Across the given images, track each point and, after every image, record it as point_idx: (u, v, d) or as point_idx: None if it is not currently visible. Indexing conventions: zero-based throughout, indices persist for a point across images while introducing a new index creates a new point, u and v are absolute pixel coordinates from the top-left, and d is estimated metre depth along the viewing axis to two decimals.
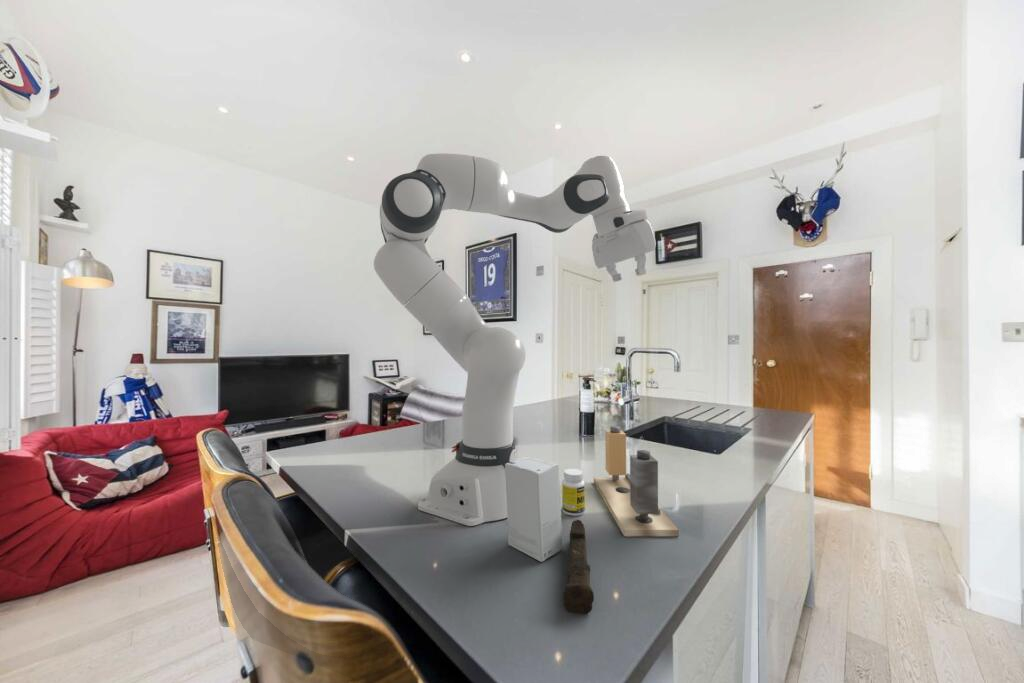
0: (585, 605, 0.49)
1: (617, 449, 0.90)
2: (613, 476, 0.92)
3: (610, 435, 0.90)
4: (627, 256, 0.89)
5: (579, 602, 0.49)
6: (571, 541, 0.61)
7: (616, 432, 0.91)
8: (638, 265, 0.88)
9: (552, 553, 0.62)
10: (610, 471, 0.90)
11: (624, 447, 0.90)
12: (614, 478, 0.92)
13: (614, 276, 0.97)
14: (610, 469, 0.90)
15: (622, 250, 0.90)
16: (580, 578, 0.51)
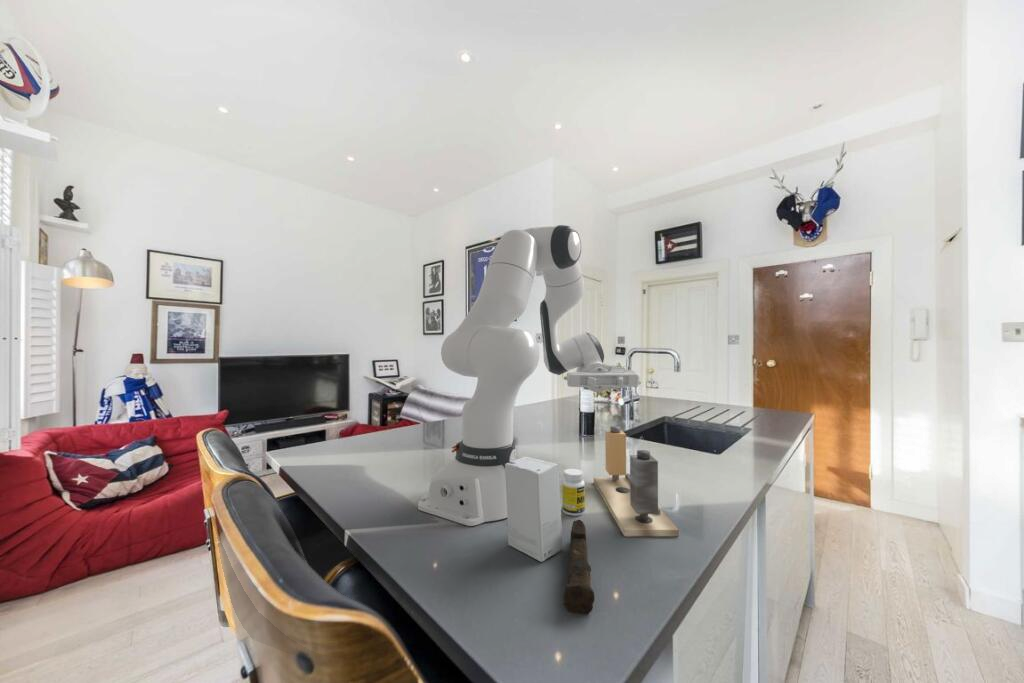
0: (585, 605, 0.49)
1: (617, 449, 0.90)
2: (613, 476, 0.92)
3: (610, 435, 0.90)
4: (617, 373, 1.03)
5: (580, 602, 0.49)
6: (572, 541, 0.61)
7: (616, 432, 0.91)
8: (620, 377, 1.01)
9: (552, 553, 0.62)
10: (610, 471, 0.90)
11: (624, 447, 0.90)
12: (614, 478, 0.92)
13: None
14: (610, 469, 0.90)
15: (612, 373, 1.05)
16: (581, 578, 0.51)
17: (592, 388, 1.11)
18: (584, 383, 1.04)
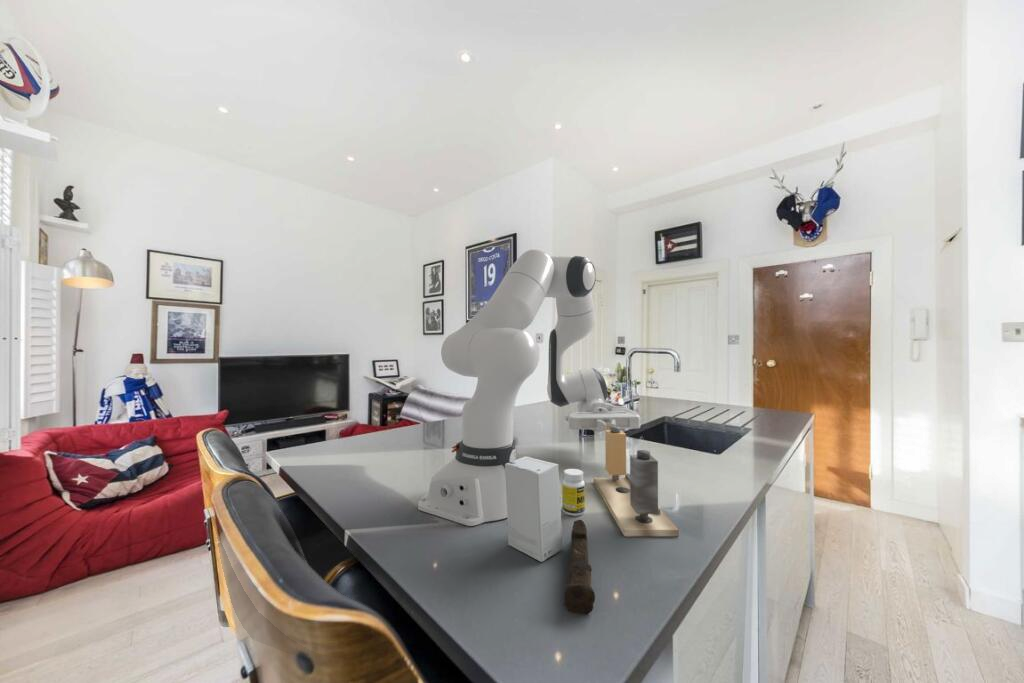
0: (586, 605, 0.49)
1: (617, 449, 0.90)
2: (613, 476, 0.92)
3: (610, 435, 0.90)
4: (618, 416, 1.04)
5: (580, 602, 0.49)
6: (573, 541, 0.61)
7: (616, 432, 0.91)
8: (613, 421, 1.01)
9: (552, 553, 0.62)
10: (610, 471, 0.90)
11: (624, 447, 0.90)
12: (614, 478, 0.92)
13: (607, 422, 1.00)
14: (610, 469, 0.90)
15: (613, 414, 1.06)
16: (582, 578, 0.51)
17: None
18: (585, 425, 1.04)
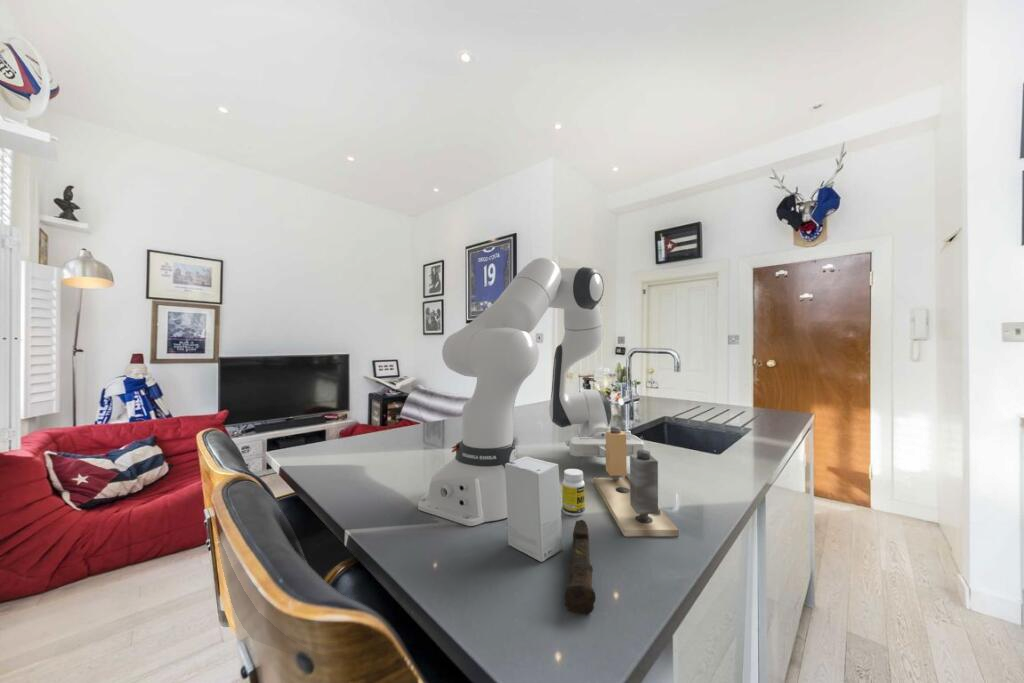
0: (586, 605, 0.49)
1: (617, 449, 0.90)
2: (613, 476, 0.92)
3: (610, 435, 0.90)
4: None
5: (581, 602, 0.49)
6: (574, 541, 0.61)
7: (616, 432, 0.91)
8: None
9: (552, 553, 0.62)
10: (610, 471, 0.90)
11: (624, 447, 0.90)
12: (614, 478, 0.91)
13: None
14: (610, 469, 0.90)
15: None
16: (582, 578, 0.51)
17: None
18: (587, 452, 0.99)
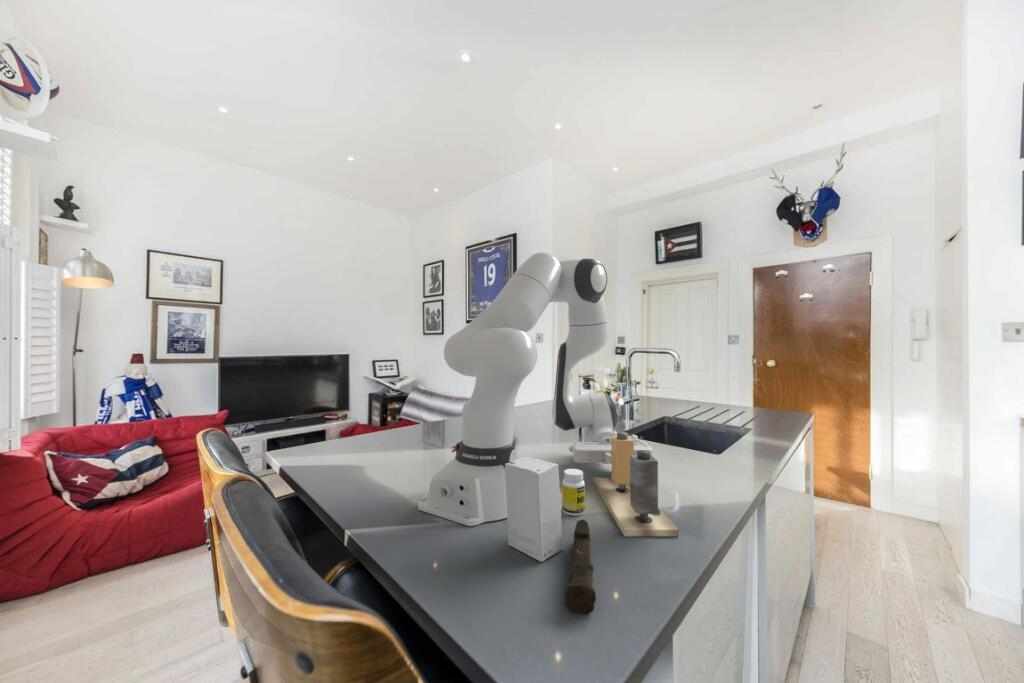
0: (587, 605, 0.49)
1: (624, 456, 0.84)
2: (620, 485, 0.86)
3: (617, 442, 0.84)
4: None
5: (581, 601, 0.49)
6: (575, 541, 0.61)
7: (623, 438, 0.85)
8: None
9: (552, 553, 0.62)
10: (617, 480, 0.84)
11: (632, 454, 0.84)
12: (621, 487, 0.86)
13: None
14: (617, 478, 0.84)
15: None
16: (583, 578, 0.51)
17: None
18: (592, 459, 0.94)
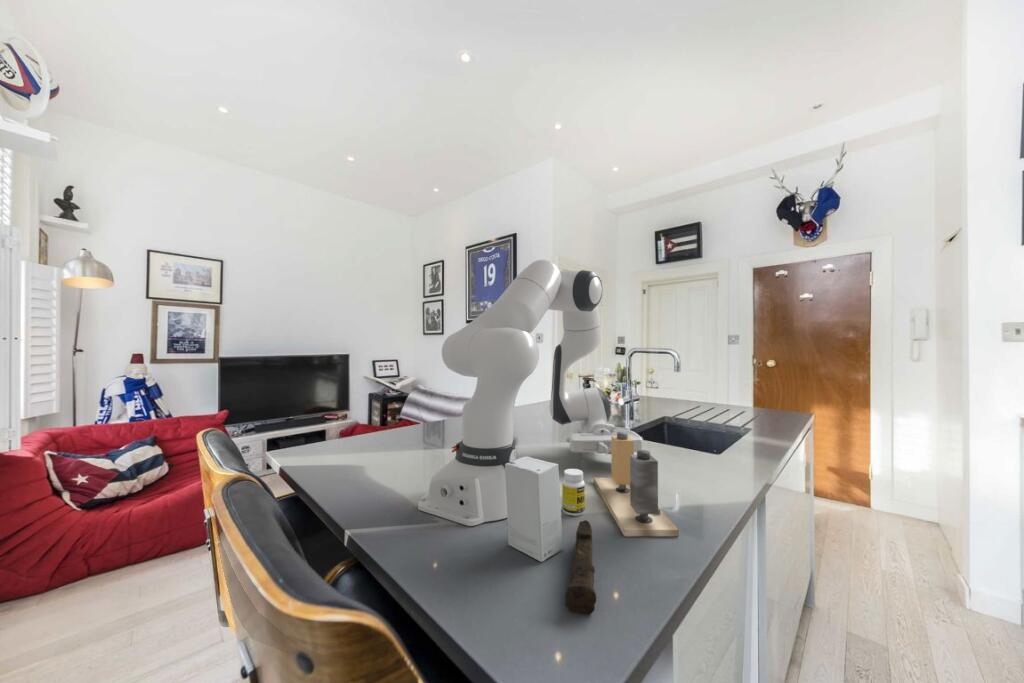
0: (587, 606, 0.49)
1: (624, 456, 0.84)
2: (620, 485, 0.86)
3: (617, 442, 0.84)
4: None
5: (581, 602, 0.49)
6: (577, 541, 0.61)
7: (623, 438, 0.85)
8: None
9: (552, 553, 0.62)
10: (617, 480, 0.84)
11: (632, 454, 0.84)
12: (621, 487, 0.86)
13: (609, 446, 0.98)
14: (617, 478, 0.84)
15: None
16: (584, 579, 0.51)
17: None
18: (587, 448, 1.02)
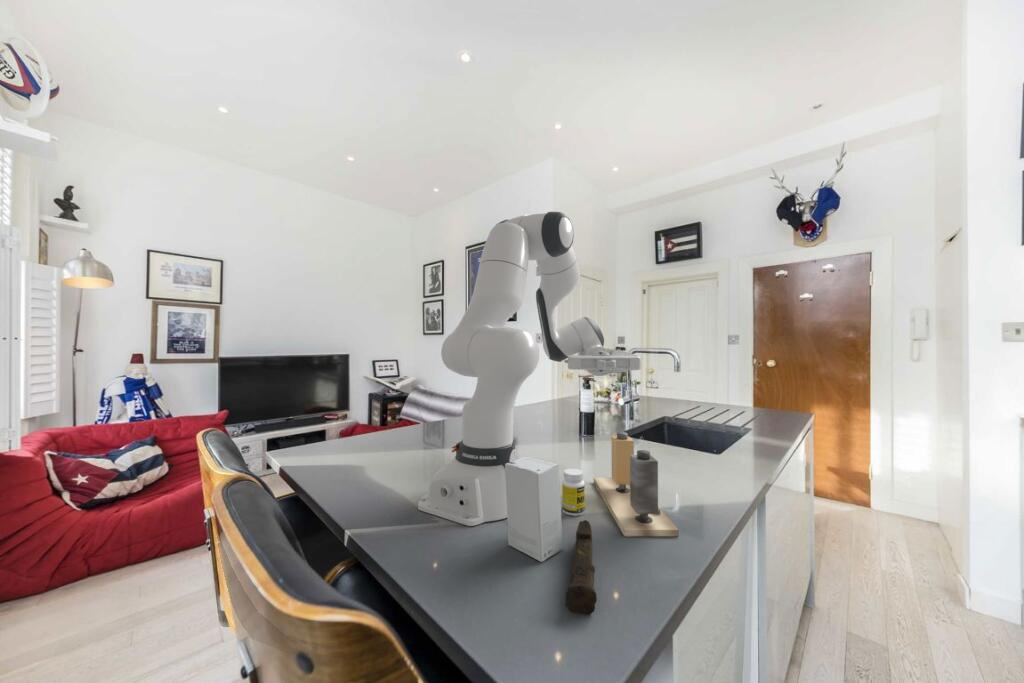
0: (587, 606, 0.49)
1: (624, 456, 0.84)
2: (620, 485, 0.86)
3: (617, 442, 0.84)
4: (618, 356, 1.02)
5: (582, 602, 0.49)
6: (577, 541, 0.61)
7: (623, 438, 0.85)
8: (613, 360, 0.99)
9: (552, 553, 0.62)
10: (617, 480, 0.84)
11: (632, 454, 0.84)
12: (621, 487, 0.86)
13: None
14: (617, 478, 0.84)
15: (613, 356, 1.04)
16: (584, 579, 0.51)
17: (593, 372, 1.09)
18: (585, 366, 1.02)
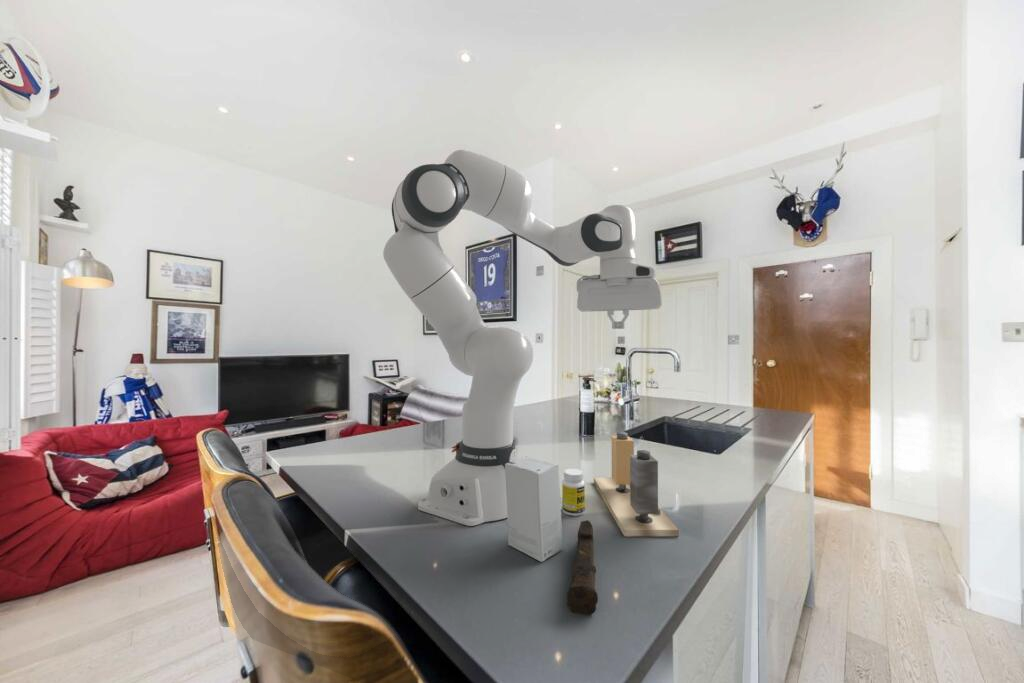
0: (588, 606, 0.49)
1: (624, 456, 0.84)
2: (620, 485, 0.86)
3: (617, 442, 0.84)
4: (633, 306, 0.89)
5: (583, 602, 0.49)
6: (578, 541, 0.61)
7: (623, 438, 0.85)
8: (624, 318, 0.91)
9: (552, 553, 0.62)
10: (617, 480, 0.84)
11: (632, 454, 0.84)
12: (621, 487, 0.86)
13: (616, 322, 0.92)
14: (617, 478, 0.84)
15: (629, 299, 0.90)
16: (585, 579, 0.51)
17: None
18: None
